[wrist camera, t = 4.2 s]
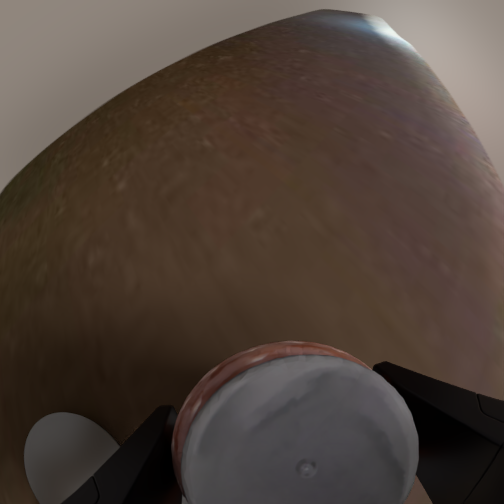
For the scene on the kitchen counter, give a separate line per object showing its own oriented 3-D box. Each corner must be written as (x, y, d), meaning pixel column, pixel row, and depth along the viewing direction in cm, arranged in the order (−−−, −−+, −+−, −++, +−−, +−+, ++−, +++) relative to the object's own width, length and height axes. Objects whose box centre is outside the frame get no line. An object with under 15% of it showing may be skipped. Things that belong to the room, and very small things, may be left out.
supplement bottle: (193, 441, 13) (59, 464, 3) (263, 357, 15) (263, 234, 6) (287, 505, 11) (327, 632, 1) (355, 417, 13) (506, 388, 4)
